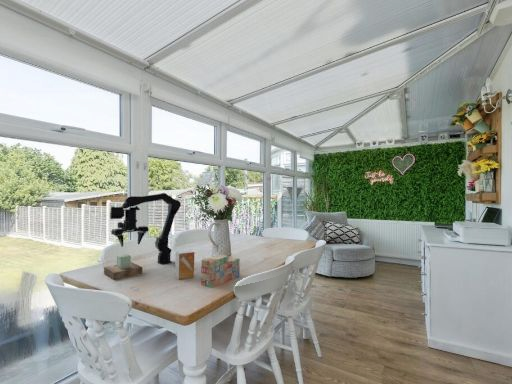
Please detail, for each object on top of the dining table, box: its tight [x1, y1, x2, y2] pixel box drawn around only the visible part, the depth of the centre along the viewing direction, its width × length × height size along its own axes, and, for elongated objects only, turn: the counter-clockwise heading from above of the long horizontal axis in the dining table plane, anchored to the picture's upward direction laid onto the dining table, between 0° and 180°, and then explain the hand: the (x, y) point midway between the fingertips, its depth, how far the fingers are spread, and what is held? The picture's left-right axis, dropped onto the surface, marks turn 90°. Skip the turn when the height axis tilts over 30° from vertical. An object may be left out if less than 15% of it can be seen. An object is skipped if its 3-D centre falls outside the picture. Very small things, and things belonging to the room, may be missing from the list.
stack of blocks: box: [200, 254, 241, 289], centre depth 129 cm, size 21×6×12 cm, turn 145°
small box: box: [174, 249, 196, 280], centre depth 133 cm, size 8×6×13 cm
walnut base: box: [103, 261, 143, 281], centre depth 136 cm, size 14×14×4 cm
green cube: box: [116, 253, 132, 269], centre depth 136 cm, size 5×5×6 cm
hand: (130, 245), depth 148 cm, fingers open, 9 cm apart
